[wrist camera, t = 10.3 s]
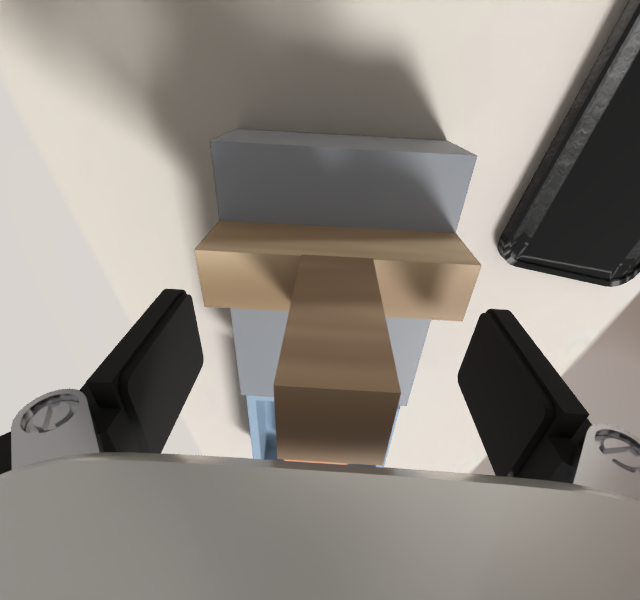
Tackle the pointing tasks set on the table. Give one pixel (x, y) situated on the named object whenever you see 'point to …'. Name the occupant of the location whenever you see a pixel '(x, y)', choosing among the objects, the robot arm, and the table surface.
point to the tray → (273, 428)
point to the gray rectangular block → (334, 215)
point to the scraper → (336, 320)
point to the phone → (589, 177)
